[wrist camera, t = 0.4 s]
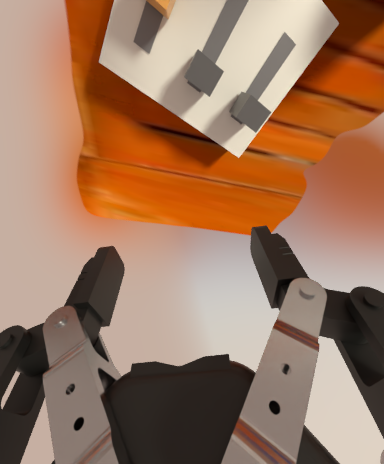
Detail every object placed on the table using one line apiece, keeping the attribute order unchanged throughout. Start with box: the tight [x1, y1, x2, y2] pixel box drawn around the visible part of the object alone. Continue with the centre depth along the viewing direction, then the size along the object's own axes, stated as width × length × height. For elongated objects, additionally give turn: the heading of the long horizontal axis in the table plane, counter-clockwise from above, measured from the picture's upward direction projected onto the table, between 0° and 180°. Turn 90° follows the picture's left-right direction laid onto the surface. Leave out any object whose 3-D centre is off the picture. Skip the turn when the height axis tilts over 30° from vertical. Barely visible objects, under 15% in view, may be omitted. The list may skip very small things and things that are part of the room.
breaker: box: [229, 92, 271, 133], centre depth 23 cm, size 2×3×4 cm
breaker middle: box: [184, 49, 224, 97], centre depth 21 cm, size 2×3×4 cm
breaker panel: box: [99, 0, 339, 158], centre depth 23 cm, size 16×20×5 cm
